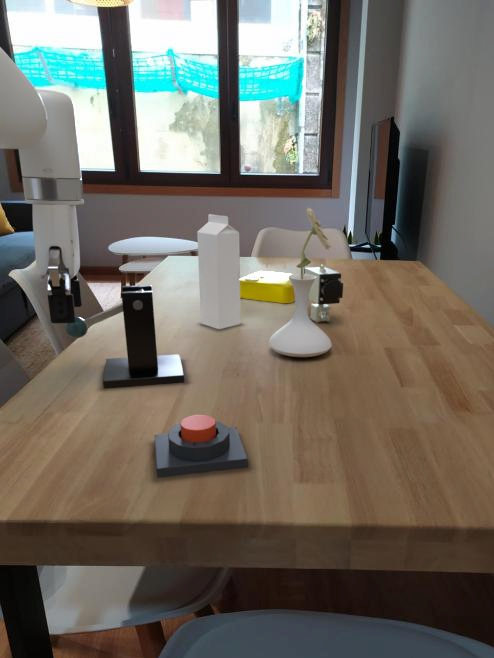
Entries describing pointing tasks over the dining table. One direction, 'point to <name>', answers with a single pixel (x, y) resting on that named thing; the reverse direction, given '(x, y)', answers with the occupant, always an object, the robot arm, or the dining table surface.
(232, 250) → the milk
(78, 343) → the dining table surface
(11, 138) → the robot arm
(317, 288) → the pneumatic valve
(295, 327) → the flower in vase
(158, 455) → the button housing
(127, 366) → the lever base
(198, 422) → the button
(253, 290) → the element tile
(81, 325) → the tap lever
